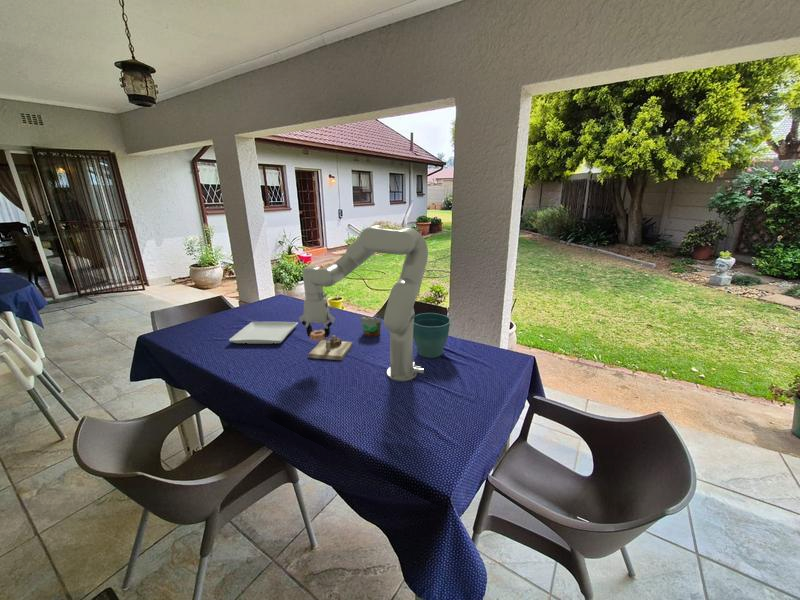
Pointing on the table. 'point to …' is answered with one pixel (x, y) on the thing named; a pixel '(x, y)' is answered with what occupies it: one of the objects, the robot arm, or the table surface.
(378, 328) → the food container
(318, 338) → the terracotta gear
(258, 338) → the square plate
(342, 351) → the gear board
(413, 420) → the table surface
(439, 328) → the flower pot
